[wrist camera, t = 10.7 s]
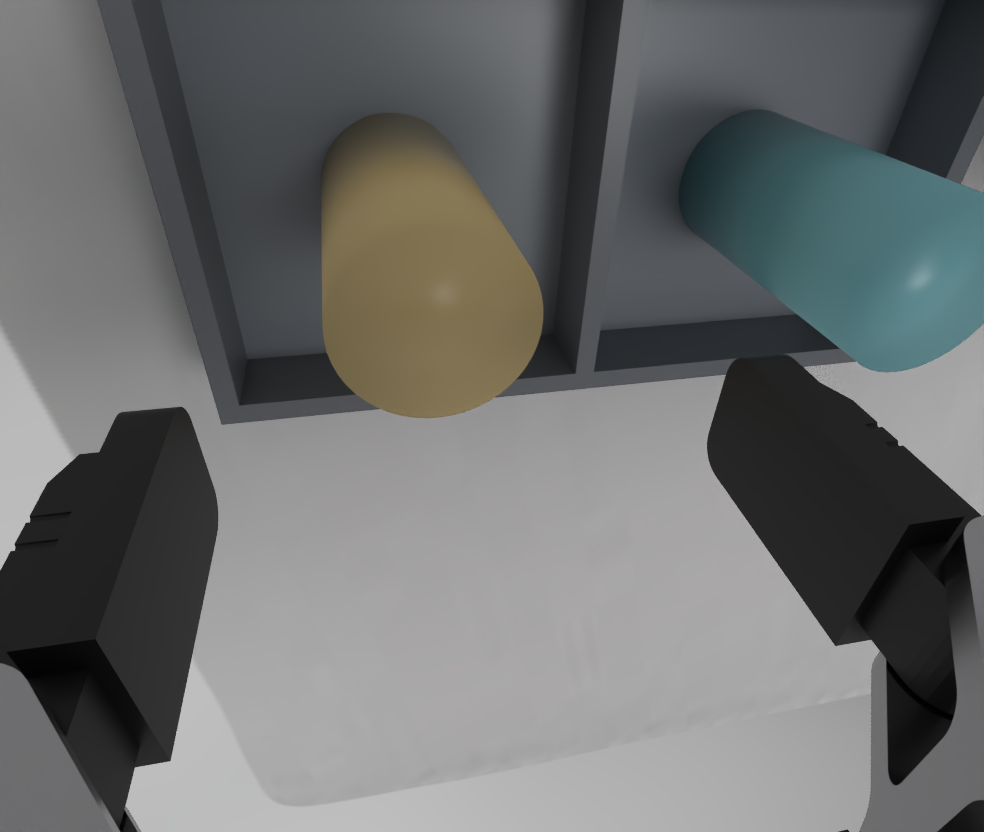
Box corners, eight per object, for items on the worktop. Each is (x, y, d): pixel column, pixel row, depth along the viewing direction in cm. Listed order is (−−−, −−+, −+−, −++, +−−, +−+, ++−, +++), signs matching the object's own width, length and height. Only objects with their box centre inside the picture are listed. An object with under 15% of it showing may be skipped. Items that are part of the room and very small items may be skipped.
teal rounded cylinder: (817, 108, 19) (1064, 192, 12) (777, 238, 21) (968, 363, 15) (694, 110, 18) (891, 203, 12) (667, 245, 20) (819, 380, 14)
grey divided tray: (950, -38, 18) (1062, -34, 15) (817, 312, 25) (878, 359, 22) (125, -67, 14) (77, -68, 11) (235, 360, 21) (221, 424, 18)
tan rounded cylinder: (464, 111, 17) (551, 213, 10) (465, 254, 19) (536, 405, 13) (310, 114, 16) (305, 227, 10) (331, 262, 18) (338, 428, 12)
